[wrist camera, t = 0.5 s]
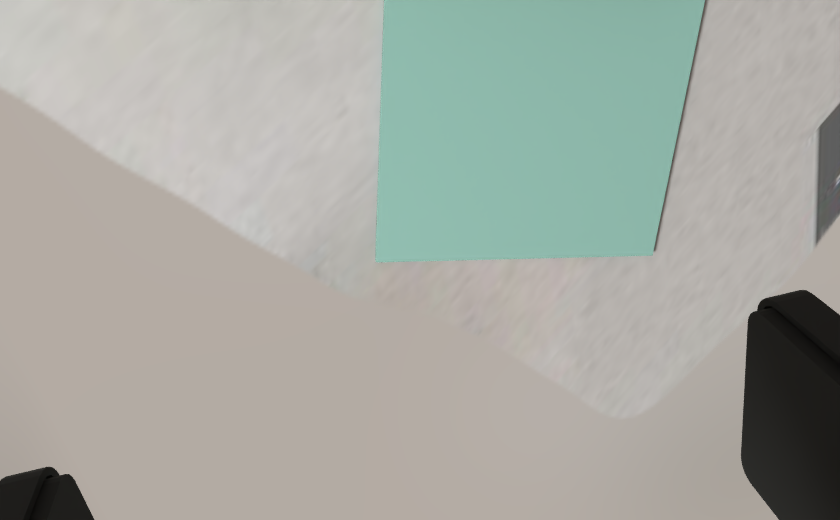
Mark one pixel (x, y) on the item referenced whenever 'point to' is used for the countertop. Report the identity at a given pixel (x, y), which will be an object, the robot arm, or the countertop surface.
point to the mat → (529, 126)
